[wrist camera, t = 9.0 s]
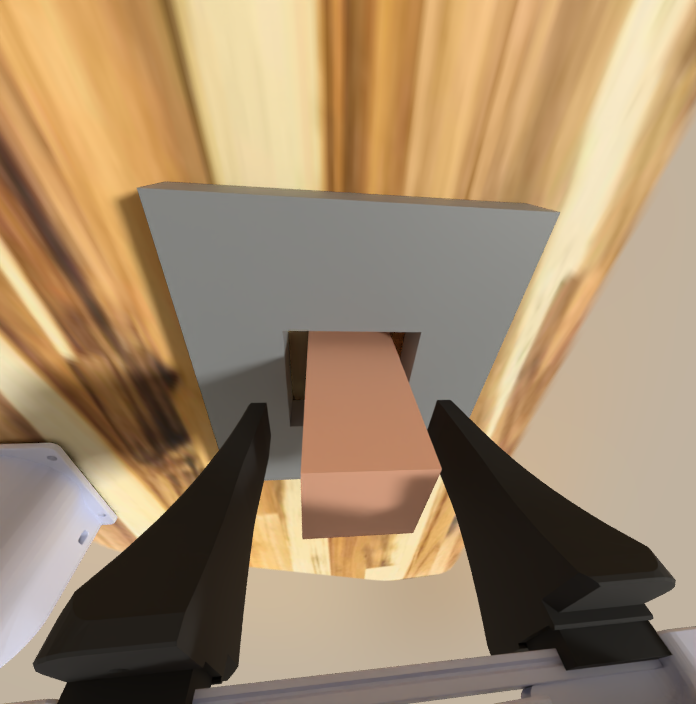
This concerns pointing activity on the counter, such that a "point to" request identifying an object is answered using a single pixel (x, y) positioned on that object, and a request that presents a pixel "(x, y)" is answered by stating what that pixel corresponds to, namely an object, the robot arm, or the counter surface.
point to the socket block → (337, 289)
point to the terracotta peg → (362, 440)
